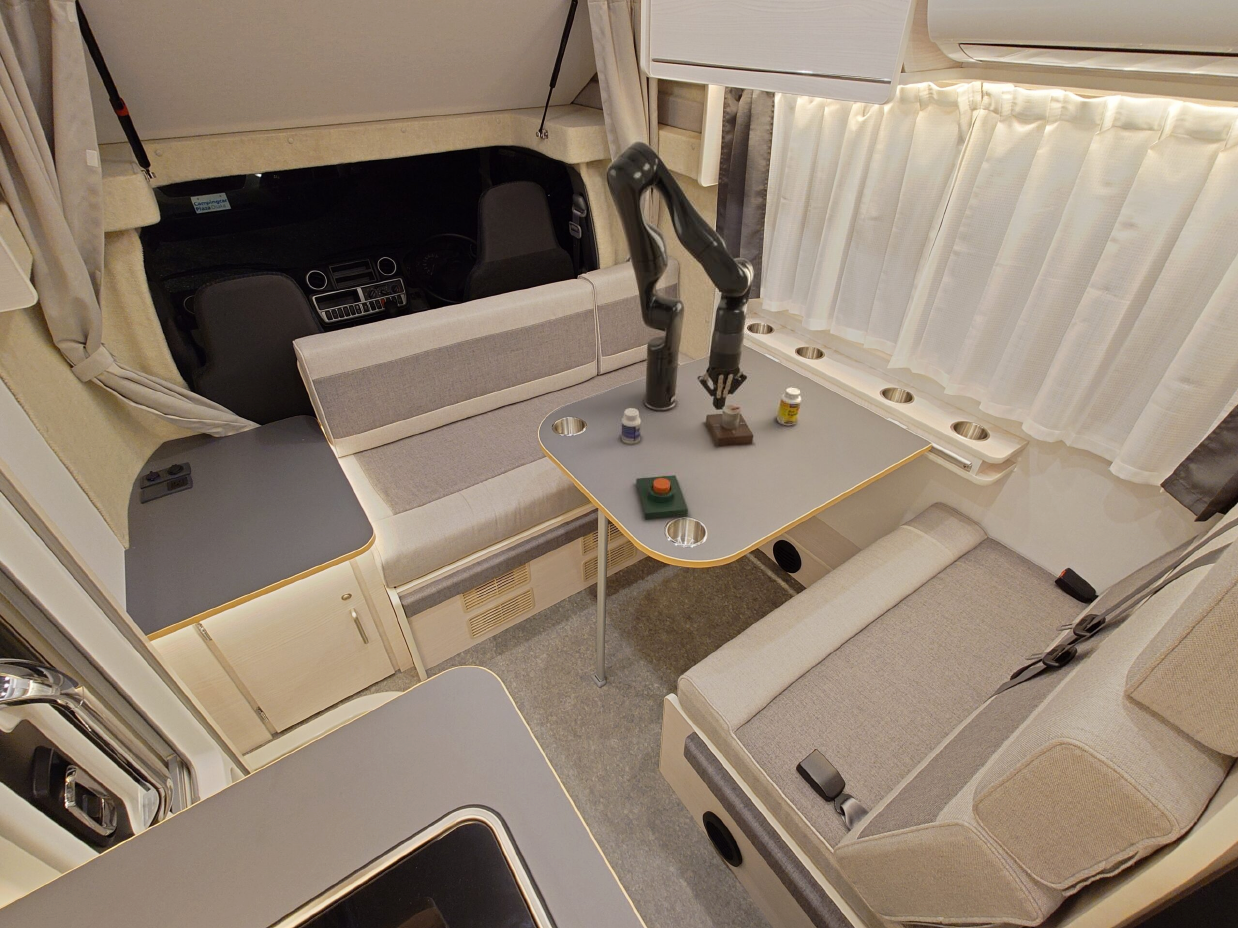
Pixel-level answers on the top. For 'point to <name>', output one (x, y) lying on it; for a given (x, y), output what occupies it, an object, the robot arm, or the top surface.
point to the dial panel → (728, 432)
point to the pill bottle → (631, 426)
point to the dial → (730, 416)
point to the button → (661, 486)
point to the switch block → (661, 499)
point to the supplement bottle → (789, 407)
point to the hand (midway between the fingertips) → (718, 408)
